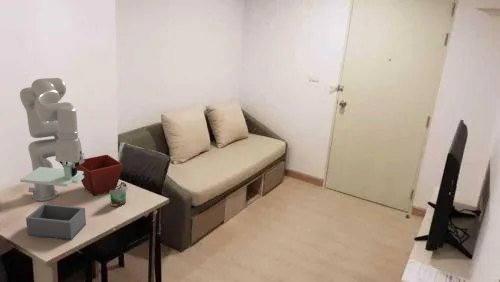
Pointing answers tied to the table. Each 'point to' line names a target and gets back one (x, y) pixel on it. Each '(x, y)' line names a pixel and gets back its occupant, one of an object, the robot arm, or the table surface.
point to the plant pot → (100, 174)
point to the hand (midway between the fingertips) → (70, 174)
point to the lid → (53, 176)
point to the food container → (118, 195)
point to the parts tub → (56, 222)
